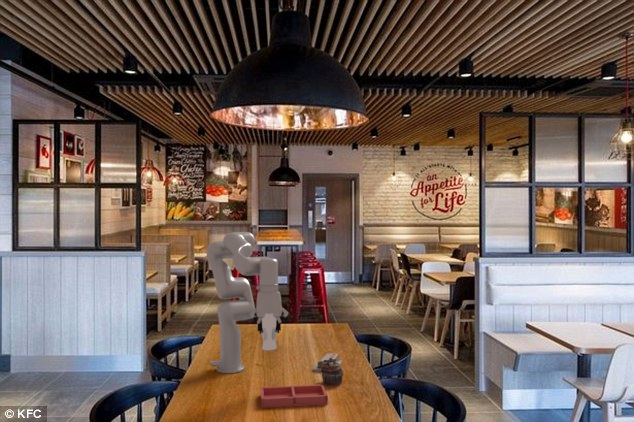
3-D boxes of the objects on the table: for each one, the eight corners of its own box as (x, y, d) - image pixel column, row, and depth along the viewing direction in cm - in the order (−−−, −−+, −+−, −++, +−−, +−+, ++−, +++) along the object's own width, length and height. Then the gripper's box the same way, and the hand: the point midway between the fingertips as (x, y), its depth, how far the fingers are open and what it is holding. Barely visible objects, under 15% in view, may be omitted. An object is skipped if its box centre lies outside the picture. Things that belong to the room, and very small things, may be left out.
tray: (261, 407, 195) (261, 399, 195) (260, 395, 208) (260, 387, 208) (327, 404, 198) (327, 396, 198) (323, 392, 211) (323, 384, 211)
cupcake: (336, 387, 217) (336, 363, 217) (316, 383, 222) (316, 360, 222) (347, 381, 225) (347, 358, 225) (328, 377, 230) (328, 354, 230)
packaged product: (323, 351, 256) (342, 352, 254) (323, 361, 256) (342, 362, 254) (312, 361, 239) (333, 363, 236) (312, 372, 239) (333, 373, 236)
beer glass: (264, 351, 209) (264, 314, 209) (258, 347, 215) (257, 311, 215) (280, 349, 212) (280, 312, 212) (273, 345, 218) (273, 309, 218)
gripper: (247, 290, 209) (247, 335, 209) (290, 289, 211) (291, 334, 211) (247, 288, 216) (247, 331, 216) (289, 287, 218) (289, 329, 218)
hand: (269, 332), depth 213 cm, fingers closed on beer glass, 6 cm apart
